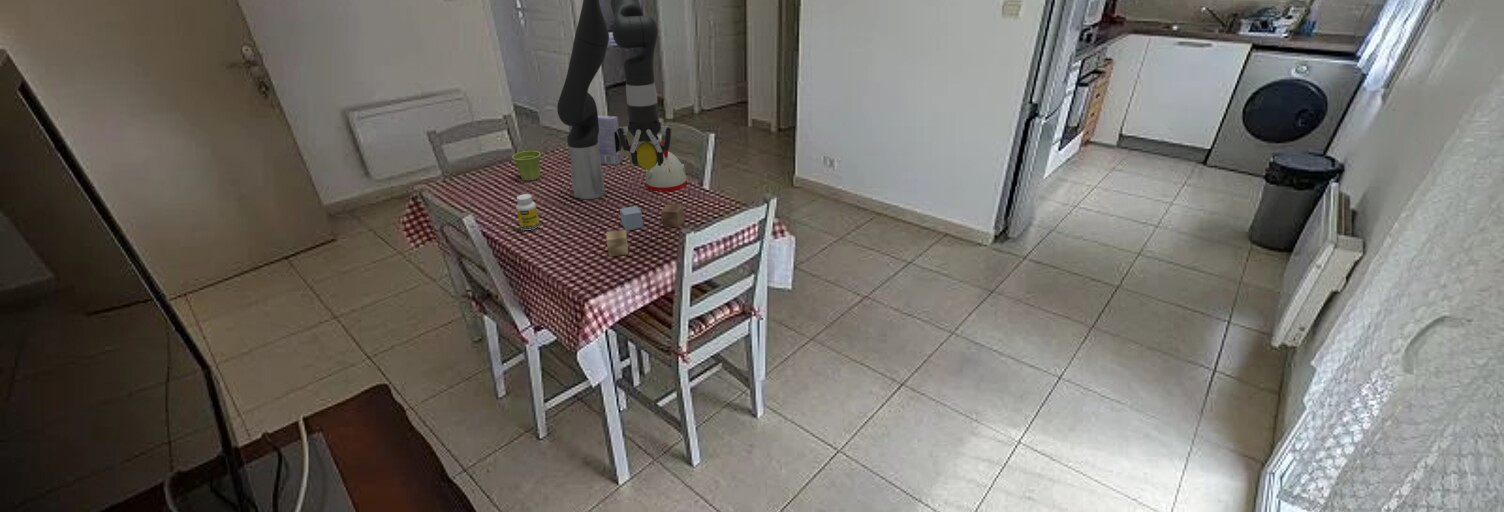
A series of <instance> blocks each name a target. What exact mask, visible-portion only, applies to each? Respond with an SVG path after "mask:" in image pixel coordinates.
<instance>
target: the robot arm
mask: <svg viewBox="0 0 1504 512" xmlns="http://www.w3.org/2000/svg"><path fill="white" fill-rule="evenodd" d="M610 7H611V11H612V14H613V17H614V18H613V24H612V38H613V41H614V42H615V44H616V45H617V46H618V47H620V48H622V49H635V48H642V50H641V52H640V53H639V54H637V55H636V56H632V57H629V58H627V59H625V60H624V63H623V66H624V67H623V68H624V69H623V71H624V76H625V95H626V96H625V97H626V103H627V104H626V105H627V114H628V125H626V126H623V125H620V126H619V129H618V134H619V137H620V140H621V144H622V147H621V148H622V150H623V151H625V152H626V151H627V152H629V153H630V155H631V156H630V158H631V163H632V165H634V167H638V166H639V163H638V160H637V149H638V145H639V142H642V143H643V142H645V141H647V142H651V144H653V145H654V146H655V147H656V149H657V160H658V166H661V164H663V161H664V156H663V151H665V150H668V151H669V149H670V146H671V139H672V138H671V137H672V128H673V127H672V125H662V124H661V122H660V120H659V119H660V118H659V106H658V95H657V88H656V85H655V73H654V55H655V50H656V45H657V41H658V40H657V39H658V31H659V30H658V25H657V23H656V21H655V19H654V18H653V17H652V16H650V15H644V11H643V8H642V6H641V4H640V1H639V0H610ZM609 41H610V34H609V29H608V25H607V23H606V20H605V18H604V15H603V12H602V8H601V5H600V1H599V0H582V5H581V11H580V15H579V18H578V22H577V26H576V30H575V34H574V39H573V42H572V43H573V44H572V50H571V54H570V59H569V64H568V67H567V72H566V76H565V80H564V84H563V87H562V89H561V92H560V95H559V98H558V100H557V106H556V108H557V109H556V110H557V115H558V117H559V119H560V121H561V122H562V123H563V124H564V125H566V126H568V127H569V126H572V129H571V131H570V133H569V134H568V135H567V137H566V138H567V145H568V152H569V157H570V158H569V159H570V163H571V169H570V175H571V182H572V189H573V194H574V198H578V199H581V200H594V199H598V198H602V197H603V196H605V195H606V187H605V182H604V181H605V180H604V175H603V167H602V164H601V159H600V152H599V145H598V134H599V124H598V116H599V114H598V107H597V104H596V101H595V98H594V97H593V96H592V95H591V93H589V92H588V91H589V87H590V85H591V83H592V81H593V80H594V79H595V76H596V74H597V73H598V72H599V69H600V68H601V67H602V64H603V62H604V61H605V57H606V53H607V50H608V46H609ZM628 131H629V133H630V134H631V135H632V136H633V140H632V143H631V144H629V139H628V138H627V137H628ZM661 131H662V134H663V135H664V143H665V144H664V145H662V144H661V142H662V141H661V139H660V137H659V135H658V134H659V133H660V132H661Z"/></svg>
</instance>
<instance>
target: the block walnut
mask: <svg viewBox="0 0 1504 512" xmlns="http://www.w3.org/2000/svg"><path fill="white" fill-rule="evenodd" d="M684 210H685V208H684V205H680V204H677V205H676V204H670V203H669V204H667V205H665V207H664V208H662V210H661V211H660V213H661V225H662V227H663V228H664V227H665V228H673V227H674V229H679V228H680V227H681V226H682V225H683V223H684V222H685V211H684Z"/></svg>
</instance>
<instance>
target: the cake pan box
mask: <svg viewBox="0 0 1504 512" xmlns="http://www.w3.org/2000/svg"><path fill="white" fill-rule="evenodd" d="M598 124H599V134H598V145H599V152H600V159H601V165H611V166H612V165H613V166H618V165H619V164H621V163H622V162H623V161H622V152H621V149H622V148H623V147H622V144H621V140H620V137H619V134H618V129H619V127H620V126H619V118H618V116H612V115H611V116H610V115H598ZM571 129H572V126H568V132H569V133H570V131H571Z"/></svg>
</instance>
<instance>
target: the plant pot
mask: <svg viewBox="0 0 1504 512" xmlns="http://www.w3.org/2000/svg"><path fill="white" fill-rule="evenodd" d="M511 158H512V159H513V160H514V163H515V164H516V166H517V169H518V172H519V175H520V177H521V180H522V181H524V180H533V181H534V180H536V179H537V180H539V179H540V178H539V177H541V169H540V158H541V152H540V151H537V150H525V151H520V152H517V153H515V154H513V155H512V156H511ZM538 178H539V179H538Z"/></svg>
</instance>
